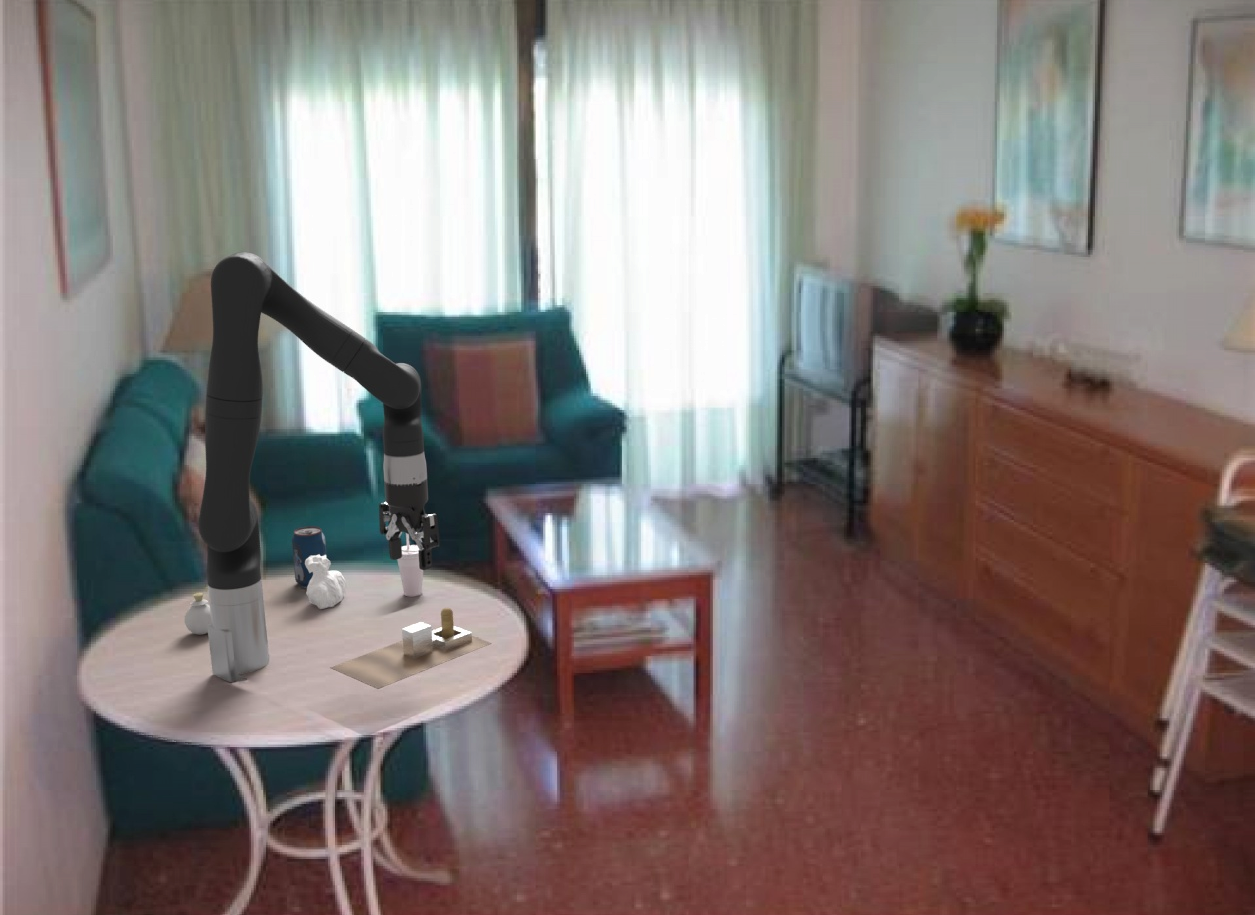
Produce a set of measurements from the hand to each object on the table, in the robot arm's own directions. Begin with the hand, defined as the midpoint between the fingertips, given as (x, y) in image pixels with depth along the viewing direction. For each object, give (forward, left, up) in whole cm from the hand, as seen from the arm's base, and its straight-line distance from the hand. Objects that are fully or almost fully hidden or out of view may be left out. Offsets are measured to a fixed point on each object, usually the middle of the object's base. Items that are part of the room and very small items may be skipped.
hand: (410, 563), depth 233 cm
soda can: (+11, +50, -19) cm, 55 cm away
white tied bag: (+6, +38, -19) cm, 43 cm away
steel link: (+4, -1, -17) cm, 17 cm away
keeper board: (-2, -1, -19) cm, 19 cm away
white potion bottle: (-19, +42, -19) cm, 50 cm away
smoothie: (+21, +28, -19) cm, 40 cm away
